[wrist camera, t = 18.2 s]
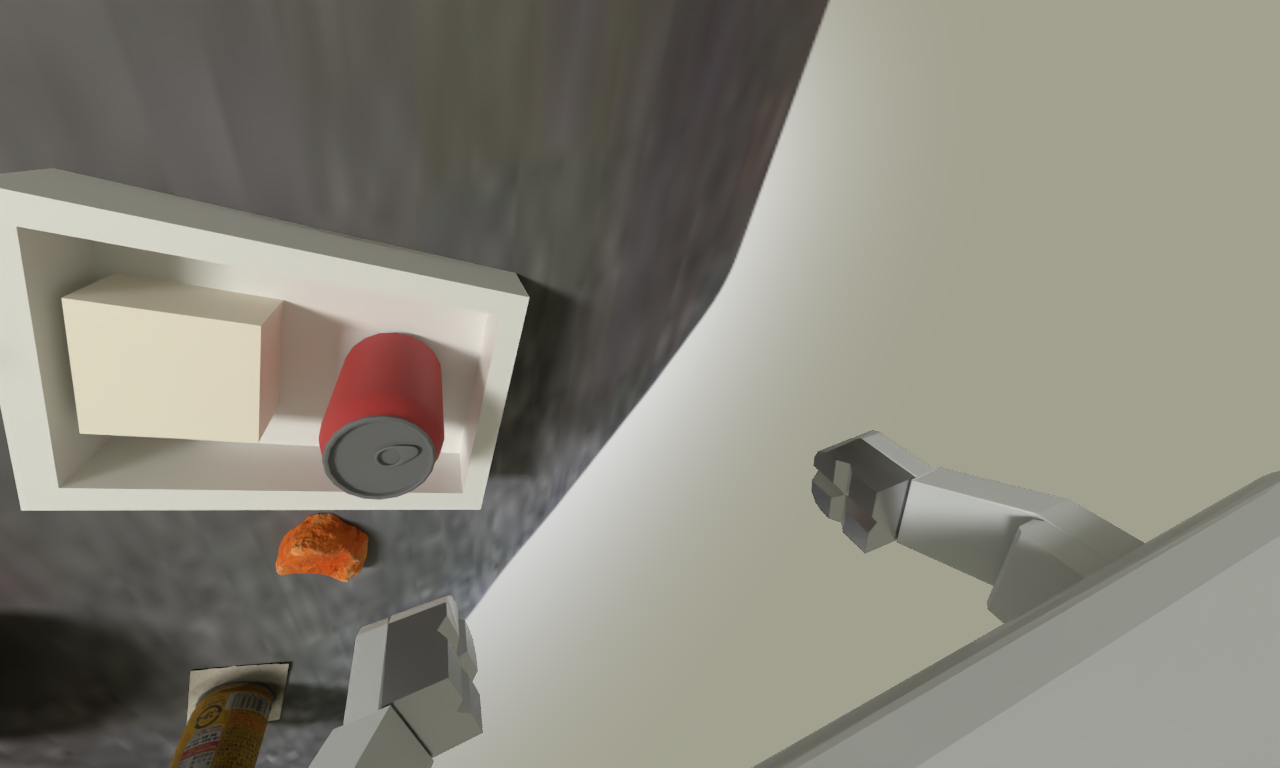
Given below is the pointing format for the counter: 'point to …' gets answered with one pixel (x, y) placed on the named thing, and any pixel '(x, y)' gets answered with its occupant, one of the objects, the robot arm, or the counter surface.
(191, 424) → the cream rectangular box
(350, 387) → the beer can
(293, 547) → the rock
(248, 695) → the condiment
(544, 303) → the counter surface
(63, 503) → the tray
